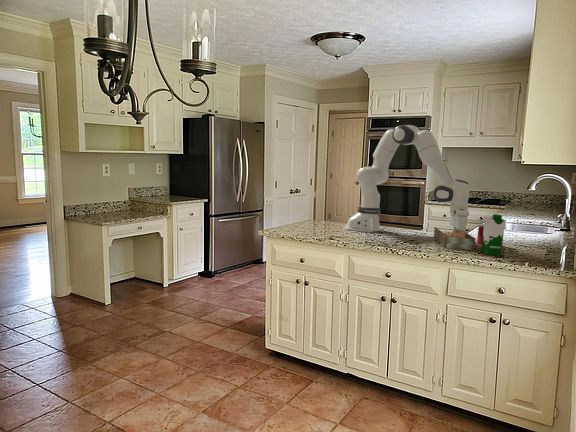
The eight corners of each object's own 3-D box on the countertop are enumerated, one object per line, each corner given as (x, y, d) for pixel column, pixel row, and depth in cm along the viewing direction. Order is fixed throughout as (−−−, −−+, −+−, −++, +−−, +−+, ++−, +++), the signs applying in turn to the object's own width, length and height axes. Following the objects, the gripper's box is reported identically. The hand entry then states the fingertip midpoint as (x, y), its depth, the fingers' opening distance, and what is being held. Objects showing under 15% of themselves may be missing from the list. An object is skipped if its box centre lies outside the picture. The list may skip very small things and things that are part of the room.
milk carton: (486, 255, 213) (491, 215, 210) (477, 251, 222) (482, 212, 218) (503, 256, 213) (508, 216, 210) (494, 252, 222) (499, 213, 219)
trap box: (444, 247, 227) (445, 236, 226) (433, 237, 254) (434, 227, 253) (474, 249, 225) (475, 238, 224) (460, 239, 252) (461, 229, 251)
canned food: (483, 246, 235) (485, 226, 234) (473, 243, 243) (475, 223, 241) (495, 246, 237) (497, 226, 236) (484, 242, 245) (487, 223, 243)
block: (454, 240, 228) (454, 232, 227) (451, 238, 232) (452, 231, 232) (464, 240, 227) (464, 233, 226) (461, 238, 232) (462, 231, 231)
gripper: (448, 207, 242) (445, 231, 244) (457, 212, 222) (454, 239, 224) (459, 208, 242) (457, 232, 244) (470, 213, 222) (467, 239, 224)
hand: (456, 235), depth 234 cm, fingers closed
